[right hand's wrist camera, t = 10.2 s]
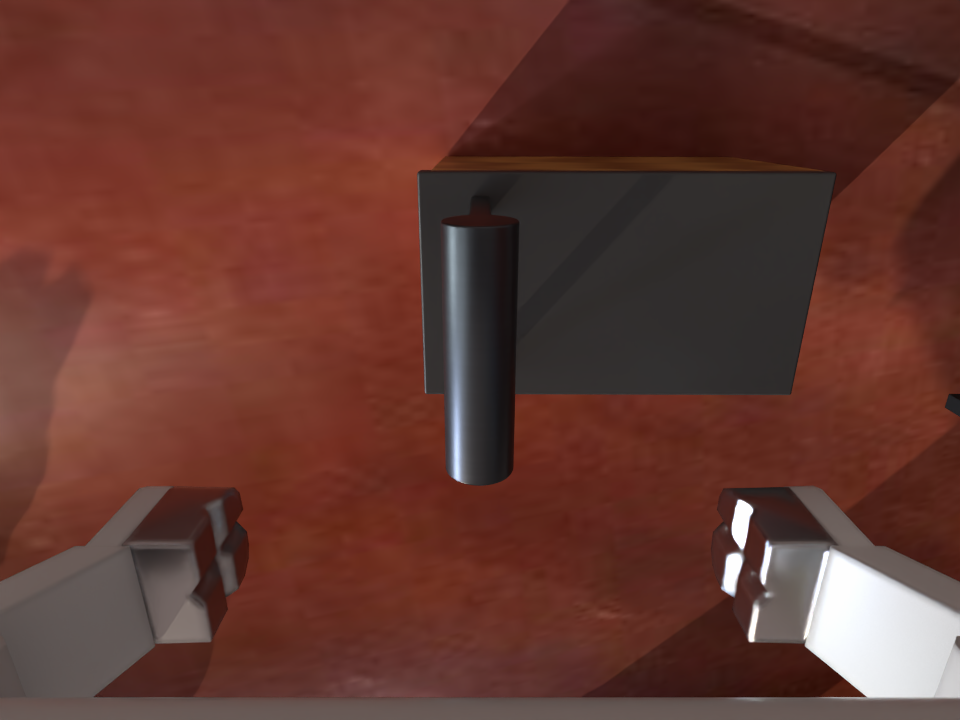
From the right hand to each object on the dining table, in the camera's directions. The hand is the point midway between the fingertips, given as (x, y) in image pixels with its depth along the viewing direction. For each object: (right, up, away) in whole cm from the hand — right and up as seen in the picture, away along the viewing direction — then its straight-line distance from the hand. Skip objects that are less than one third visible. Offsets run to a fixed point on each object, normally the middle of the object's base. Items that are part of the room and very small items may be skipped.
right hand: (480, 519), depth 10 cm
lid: (+5, +6, +14) cm, 16 cm away
